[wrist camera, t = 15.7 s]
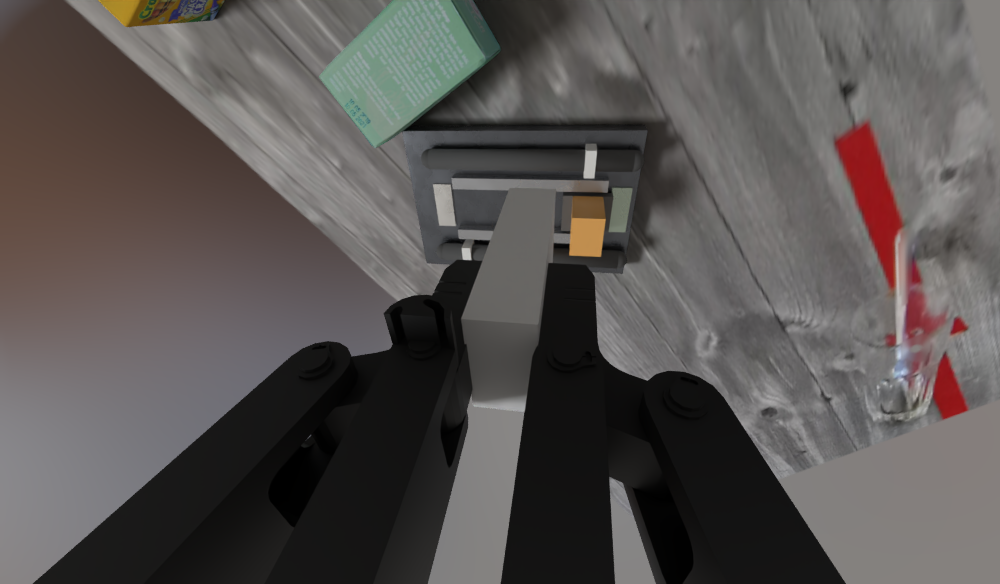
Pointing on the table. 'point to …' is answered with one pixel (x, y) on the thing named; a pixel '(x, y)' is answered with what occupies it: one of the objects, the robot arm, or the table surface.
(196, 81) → the table surface
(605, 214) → the orange rectangular block
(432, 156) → the pair of grey rails
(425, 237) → the panel
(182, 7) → the crayon box
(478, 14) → the box
